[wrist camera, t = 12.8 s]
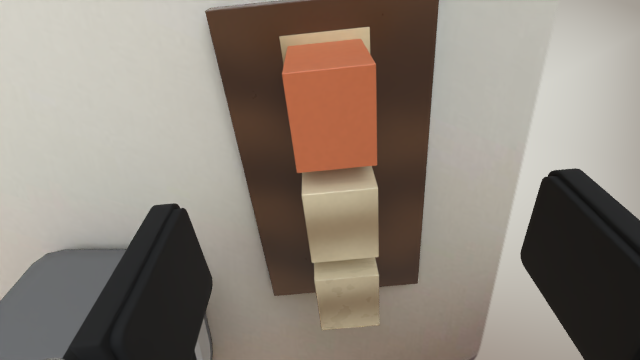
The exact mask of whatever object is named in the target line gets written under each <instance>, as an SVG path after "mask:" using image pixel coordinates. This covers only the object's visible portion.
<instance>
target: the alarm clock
mask: <svg viewBox="0 0 640 360" xmlns="http://www.w3.org/2000/svg"><path fill="white" fill-rule="evenodd" d="M126 250H127V249H65V250H61V251H56V252H52V253H48V254H46V255H45V256H43V257H42V258H40V259H39V260H37V261H36V262H35V263H33V264H32V265H31V266H30V267H29V269H28V270H27V271H26V272H25V273H24V274H23V275H22V277H21V278H20V279H19V280H18V281H17V282H16V284H15V285H14V286H13V287H12V288H11V289H10V290H9V292H8V293H7V294H6V295H5V296H4V297H3V299H2V300H1V301H0V360H43V359H46V358H63V356H64V354H65V353H66V351H67V349H68V348H69V346H70V344H71V342H72V341H73V339H74V337H75V336H76V334H77V332H78V330H79V329H80V327H81V325H82V324H83V322H84V320H85V319H86V317H87V315H88V314H89V312H90V310H91V309H92V307H93V305H94V304H95V302H96V300H97V299H98V297H99V295H100V293H101V292H102V290H103V288H104V287H105V285H106V283H107V282H108V280H109V278H110V277H111V275H112V273H113V272H114V270H115V268H116V267H117V265H118V263H119V262H120V260H121V258H122V256H123V255H124V253H125V251H126ZM212 355H213V350H212V339H211V334H210V330H209V326H208V321H207V317H206V312H205V315H204V319H203V322H202V326H201V329H200V333H199V336H198V340H197V343H196V347H195V350H194V354H193V358H192V360H212Z"/></svg>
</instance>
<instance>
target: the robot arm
mask: <svg viewBox="0 0 640 360" xmlns="http://www.w3.org/2000/svg"><path fill="white" fill-rule="evenodd" d="M521 260H522V263H523V265H524V267H525V269H526V270H527V272H528V273H529V275H530V276H531V278H532V279H533V281H534V282H535V284H536V286H537V287H538V288H539V290H540V292H541V293H542V295H543V296H544V298H545V299H546V301H547V302H548V304H549V306H550V307H551V309H552V310H553V312H554V313H555V315H556V316H557V318H558V320H559V321H560V323H561V324H562V326H563V327H564V329H565V330H566V332H567V333H568V335H569V337H570V338H571V340H572V341H573V343H574V344H575V346H576V347H577V349H578V350H579V352H580V353H581V355H582V356H583V358H584V360H640V220H639V219H637V218H636V217H635V216H634V215H633V214H632V213H630V212H629V211H628V210H627V209H626V208H625V207H623V206H622V205H621V204H620V203H619V202H618V201H616V200H615V199H614V198H613V197H612V196H610V194H608V193H607V192H606V191H605V190H604V189H603V188H601V187H600V186H599V185H598V184H597V183H596V182H594V181H593V180H592V179H591V178H590V177H589V176H587V175H586V174H585V173H584V172H583V171H581V170H580V169H566V170H555V171H551V172H550V173H549V175H548V177H544V178H543V179H542V182H541V185H540V188H539V192H538V195H537V198H536V202H535V205H534V209H533V212H532V215H531V219H530V223H529V226H528V229H527V232H526V236H525V239H524V243H523V246H522V249H521ZM211 291H212V277H211V274H210V271H209V268H208V266H207V263H206V260H205V258H204V255H203V252H202V250H201V247H200V245H199V242H198V239H197V237H196V234H195V231H194V229H193V226H192V223H191V221H190V218H189V215H188V213H187V211H186V209H184V208H181V209H180V207H179V205H178V204H164V205H155V206H153V207H152V208H151V209H150V211H149V213H148V214H147V216H146V218H145V219H144V221H143V223H142V225H141V226H140V228H139V230H138V231H137V233H136V235H135V236H134V238H133V240H132V241H131V243H130V245H129V246H128V248H127V250H126V251H125V253H124V255H123V256H122V258H121V260H120V262H119V263H118V265H117V267H116V268H115V270H114V272H113V273H112V275H111V277H110V278H109V280H108V282H107V283H106V285H105V287H104V288H103V290H102V292H101V293H100V295H99V297H98V299H97V300H96V302H95V304H94V305H93V307H92V309H91V310H90V312H89V314H88V315H87V317H86V319H85V320H84V322H83V324H82V325H81V327H80V329H79V330H78V332H77V334H76V336H75V337H74V339H73V341H72V342H71V344H70V346H69V348H68V349H67V351H66V353H65V354H64V356H63V358H46V359H43V360H192V358H193V354H194V350H195V347H196V343H197V340H198V336H199V333H200V329H201V326H202V322H203V319H204V315H205V312H206V308H207V305H208V301H209V298H210V294H211Z"/></svg>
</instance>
